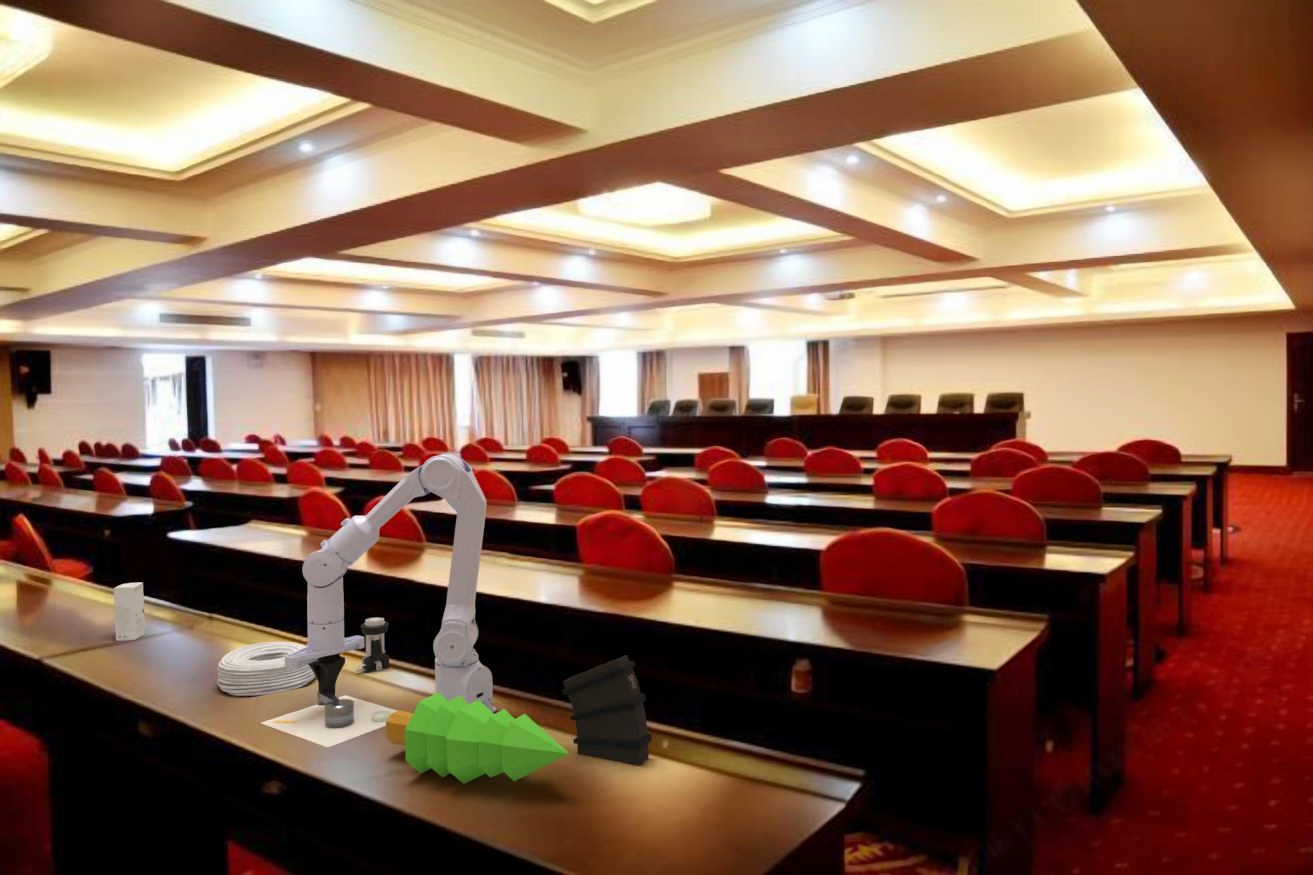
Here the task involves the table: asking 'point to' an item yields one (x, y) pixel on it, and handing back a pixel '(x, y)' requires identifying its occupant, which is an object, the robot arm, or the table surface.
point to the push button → (374, 645)
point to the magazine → (609, 712)
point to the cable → (261, 670)
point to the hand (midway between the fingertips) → (326, 699)
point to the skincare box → (129, 611)
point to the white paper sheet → (314, 729)
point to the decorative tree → (470, 740)
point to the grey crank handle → (336, 709)
